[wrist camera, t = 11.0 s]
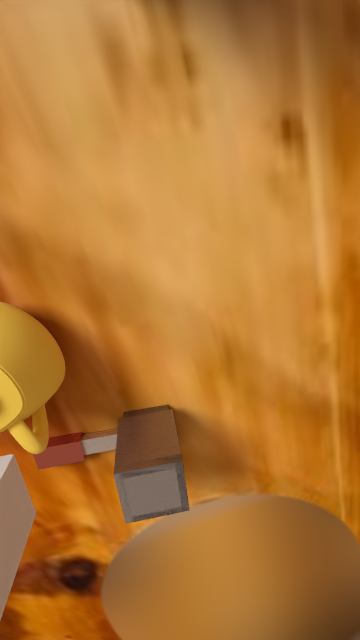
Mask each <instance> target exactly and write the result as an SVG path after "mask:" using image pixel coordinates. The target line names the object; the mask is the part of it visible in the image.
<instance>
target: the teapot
mask: <svg viewBox="0 0 360 640" xmlns="http://www.w3.org/2000/svg"><path fill="white" fill-rule="evenodd" d="M65 371H66V367H65V360H64V357H63V354H62V352H61V350H60V347H59V346H58V344H57V342H56V340H55V339H54V338H53V336H52V335H51V334H50V332H49V331H48V330H47V329H46V328H45V327H44V326H43V325H42V324H41V323H40V322H39V321H37V320H36V319H35V318H34V317H32V316H31V315H29V314H28V313H26V312H25V311H23V310H21V309H19V308H17V307H15V306H13V305H10V304H8V303H4V302H0V432H2V431H4V430H6V429H8V430H9V432H10V433H11V434H12V435H13V437H14V438H15V439H16V440H17V441H18V443H19V444H20V445H21V446H22V447H23V448H24V449H25V450H27V451H28V452H30V453H32V454H39V453H42V452H43V451H44V450H45V449H46V447H47V445H48V440H49V428H48V420H47V414H46V409H45V403H46V402H47V401H48V400H49V399H50V398H51V397H52V396H53V395H54V394H55V393H56V391H57V390H58V389H59V387H60V385H61V384H62V382H63V380H64V377H65ZM31 415H32V423H33V432H32V431H31V430H30V428H29V427H28V426H27V425H26V424H25V422H24V421H23V420H25V419H26V418H28V417H29V416H31Z"/></svg>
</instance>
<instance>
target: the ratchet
mask: <svg viewBox="0 0 360 640" xmlns="http://www.w3.org/2000/svg"><path fill="white" fill-rule="evenodd" d="M164 410H169V408H168V405H164V406H158V407H152V408H147V409H141V410H135V411H130V412H124V418H126V417H131V416H137V415H142V414H148V413H153V412H159V411H164ZM117 431H118V428H116V429H110V430H105V431H99V432H94V433H88V434H83V435H82V432H80V433H75V434H69V435H64V436H58V437H52V438H49V440H48V445H47V447H46V449H45V450H44V451H43V452H42V453H39V454H33V455H34V458H35V461H36V464H37V466H38V469H44V468H49V467H54V466H60V465H65V464H70V463H76V462H81V461H85V458H86V455H88V454H93V453H98V452H104V451H109V450H114V449H116V443H117Z"/></svg>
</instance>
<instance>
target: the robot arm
mask: <svg viewBox="0 0 360 640" xmlns="http://www.w3.org/2000/svg"><path fill="white" fill-rule="evenodd" d="M35 515H36V511H35V508H34V506H33V503H32V500H31V498H30V495H29V492H28V490H27V487H26V485H25V482H24V479H23V477H22V474H21V472H20V469H19V466H18V464H17V461H16V459H15V456H14V454H11V455H6V456H0V620H1V617H2V614H3V611H4V608H5V605H6V602H7V599H8V596H9V593H10V590H11V587H12V584H13V581H14V578H15V575H16V572H17V569H18V566H19V563H20V560H21V557H22V554H23V551H24V548H25V545H26V542H27V539H28V536H29V533H30V530H31V527H32V524H33V521H34V518H35Z"/></svg>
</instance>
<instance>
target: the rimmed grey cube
mask: <svg viewBox="0 0 360 640" xmlns="http://www.w3.org/2000/svg"><path fill="white" fill-rule="evenodd" d="M114 477H115V482H116V486H117V490H118V494H119V498H120V502H121V506H122V510H123V514H124V518H125V522H126V523H131V522H136V521H141V520H145V519H150V518H155V517H160V516H164V515H169V514H174V513H179V512H183V511H188V510H189V503H188V496H187V489H186V483H185V476H184V469H183V462H182V456H181V451H180V445H179V440H178V434H177V429H176V424H175V418H174V413H173V409H170V410H164V411H159V412H153V413H148V414H142V415H137V416H131V417H126V418H120V419H119V420H118V431H117V443H116V454H115V465H114Z"/></svg>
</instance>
